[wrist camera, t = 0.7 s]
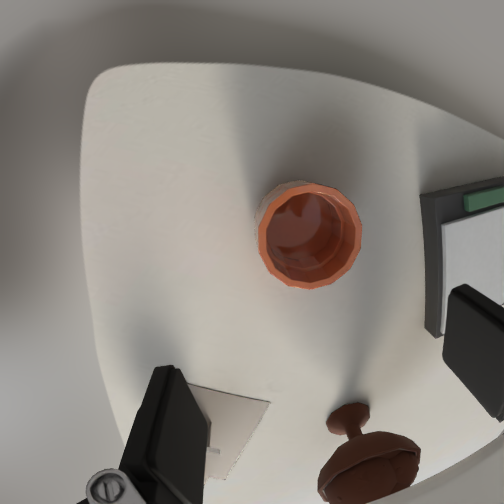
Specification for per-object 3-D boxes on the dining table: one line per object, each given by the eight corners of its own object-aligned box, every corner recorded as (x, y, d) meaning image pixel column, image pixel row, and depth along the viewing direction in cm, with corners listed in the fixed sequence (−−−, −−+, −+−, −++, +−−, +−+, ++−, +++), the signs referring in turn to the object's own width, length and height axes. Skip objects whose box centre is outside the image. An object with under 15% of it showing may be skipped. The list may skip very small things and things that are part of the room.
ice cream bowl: (404, 385, 29) (463, 477, 15) (363, 445, 32) (397, 531, 18) (326, 381, 28) (371, 502, 14) (291, 445, 31) (310, 548, 17)
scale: (419, 194, 23) (439, 199, 20) (503, 176, 23) (523, 179, 20) (424, 327, 27) (439, 343, 24) (502, 291, 27) (518, 300, 24)
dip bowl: (243, 192, 23) (245, 199, 18) (330, 172, 22) (353, 174, 18) (264, 274, 25) (270, 300, 20) (345, 253, 24) (368, 273, 20)
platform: (141, 460, 32) (132, 496, 25) (157, 374, 27) (141, 420, 21) (225, 479, 33) (224, 516, 27) (270, 402, 29) (277, 449, 22)
